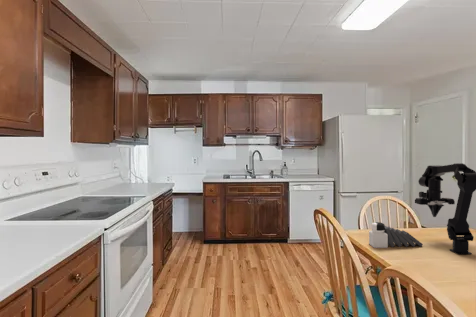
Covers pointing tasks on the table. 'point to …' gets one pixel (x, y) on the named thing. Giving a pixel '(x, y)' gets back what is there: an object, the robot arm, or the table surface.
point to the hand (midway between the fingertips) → (434, 216)
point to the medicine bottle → (378, 236)
